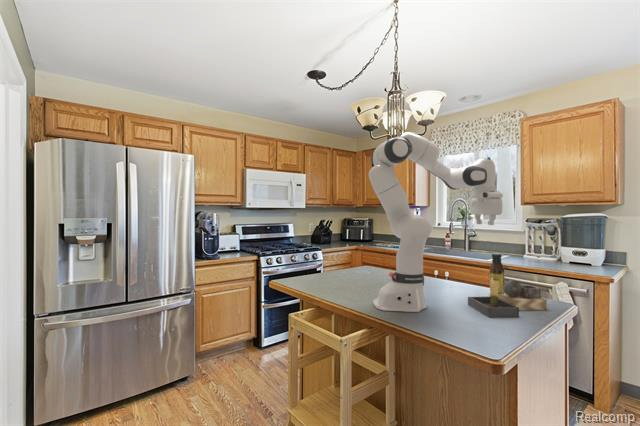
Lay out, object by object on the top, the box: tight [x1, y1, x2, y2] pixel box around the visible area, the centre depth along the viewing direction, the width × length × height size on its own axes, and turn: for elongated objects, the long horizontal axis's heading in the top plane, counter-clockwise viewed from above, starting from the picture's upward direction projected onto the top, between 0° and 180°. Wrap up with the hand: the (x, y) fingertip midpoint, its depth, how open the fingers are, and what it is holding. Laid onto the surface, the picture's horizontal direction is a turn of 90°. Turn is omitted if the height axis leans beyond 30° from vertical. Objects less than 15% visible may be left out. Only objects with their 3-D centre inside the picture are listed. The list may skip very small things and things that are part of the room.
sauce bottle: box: [489, 252, 506, 294], centre depth 149 cm, size 6×6×20 cm
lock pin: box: [489, 277, 499, 308], centre depth 127 cm, size 3×3×12 cm
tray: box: [467, 296, 520, 318], centre depth 127 cm, size 16×12×4 cm
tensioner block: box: [499, 279, 548, 311], centre depth 132 cm, size 14×10×11 cm
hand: (484, 224), depth 144 cm, fingers open, 8 cm apart
